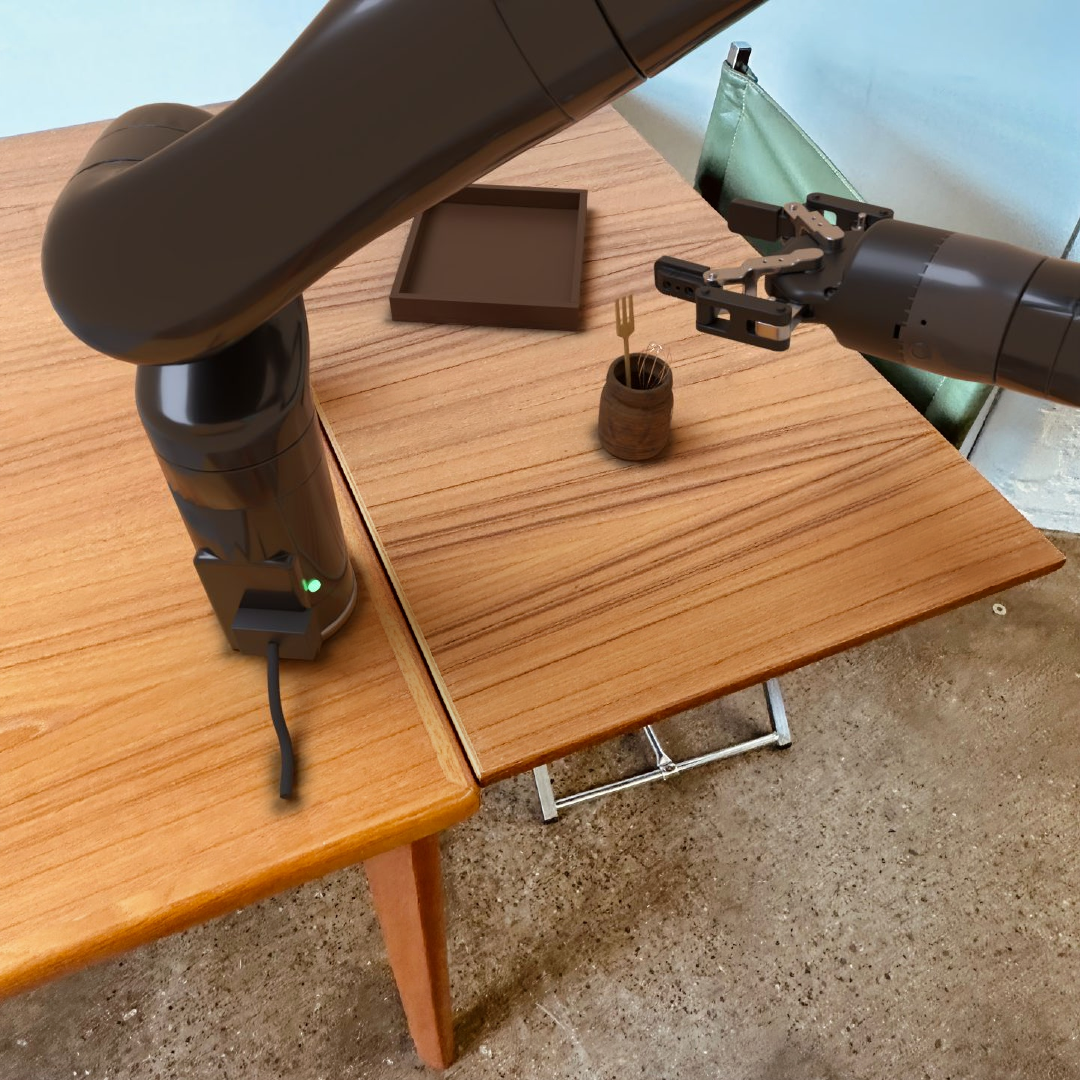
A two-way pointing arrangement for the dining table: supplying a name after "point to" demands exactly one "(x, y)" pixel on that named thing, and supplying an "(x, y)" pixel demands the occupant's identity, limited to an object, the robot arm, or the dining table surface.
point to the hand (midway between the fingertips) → (694, 242)
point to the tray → (495, 259)
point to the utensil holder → (635, 398)
